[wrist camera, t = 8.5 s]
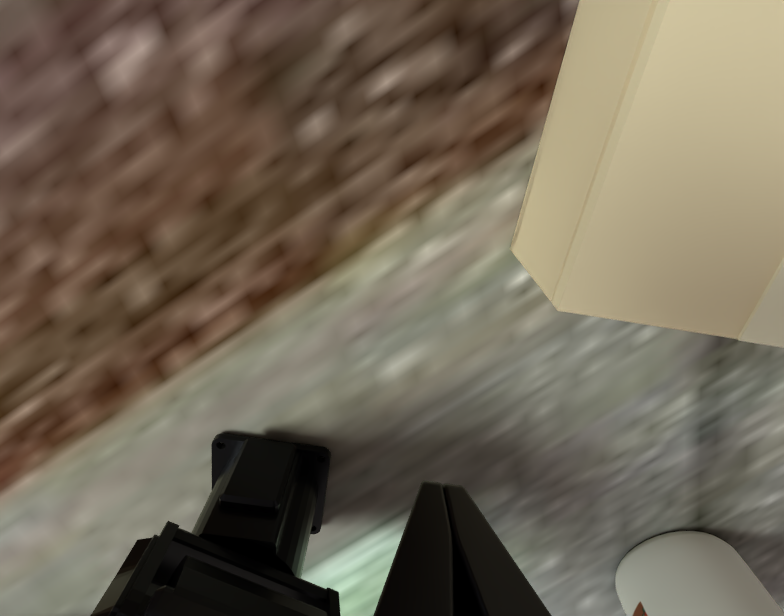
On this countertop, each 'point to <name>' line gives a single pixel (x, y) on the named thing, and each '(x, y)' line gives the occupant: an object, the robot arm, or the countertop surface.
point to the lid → (692, 181)
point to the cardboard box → (578, 131)
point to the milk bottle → (690, 579)
